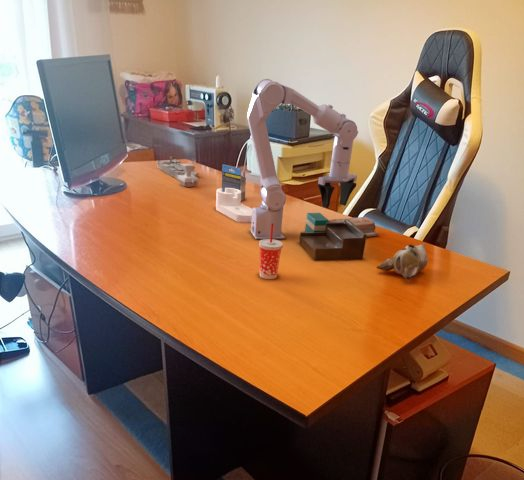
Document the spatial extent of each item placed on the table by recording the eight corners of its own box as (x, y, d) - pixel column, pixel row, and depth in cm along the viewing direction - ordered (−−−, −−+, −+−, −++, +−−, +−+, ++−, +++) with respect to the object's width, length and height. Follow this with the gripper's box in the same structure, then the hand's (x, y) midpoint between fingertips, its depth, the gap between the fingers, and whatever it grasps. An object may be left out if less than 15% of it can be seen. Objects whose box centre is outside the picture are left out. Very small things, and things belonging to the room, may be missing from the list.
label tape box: (245, 199, 200) (247, 166, 193) (239, 201, 197) (241, 168, 190) (226, 195, 203) (228, 162, 197) (220, 197, 200) (221, 164, 194)
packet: (312, 240, 164) (315, 220, 161) (304, 232, 171) (306, 212, 167) (326, 240, 165) (329, 220, 162) (317, 232, 172) (320, 212, 169)
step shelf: (314, 260, 149) (318, 235, 145) (299, 243, 161) (301, 219, 157) (362, 259, 153) (366, 234, 149) (343, 242, 165) (347, 219, 161)
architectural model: (178, 180, 219) (178, 167, 217) (153, 167, 236) (152, 155, 234) (202, 178, 225) (203, 165, 223) (176, 165, 242) (176, 154, 240)
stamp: (200, 187, 211) (200, 166, 206) (186, 189, 207) (186, 167, 203) (189, 182, 217) (189, 161, 212) (175, 183, 213) (175, 162, 209)
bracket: (211, 207, 188) (212, 188, 184) (232, 205, 192) (233, 186, 189) (240, 223, 174) (241, 203, 170) (262, 220, 178) (263, 201, 175)
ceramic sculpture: (441, 243, 142) (412, 258, 133) (435, 273, 147) (406, 288, 138) (408, 233, 148) (377, 246, 139) (403, 261, 153) (373, 276, 144)
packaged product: (363, 213, 177) (381, 222, 170) (360, 227, 180) (378, 236, 172) (318, 217, 170) (335, 226, 162) (316, 231, 172) (333, 241, 165)
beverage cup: (272, 282, 133) (276, 229, 126) (252, 276, 136) (255, 223, 129) (283, 275, 138) (289, 223, 131) (264, 269, 140) (268, 218, 133)
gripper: (332, 165, 151) (325, 211, 158) (366, 162, 159) (359, 206, 166) (316, 160, 156) (310, 205, 163) (350, 158, 164) (343, 201, 171)
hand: (334, 205), depth 165 cm, fingers open, 7 cm apart
